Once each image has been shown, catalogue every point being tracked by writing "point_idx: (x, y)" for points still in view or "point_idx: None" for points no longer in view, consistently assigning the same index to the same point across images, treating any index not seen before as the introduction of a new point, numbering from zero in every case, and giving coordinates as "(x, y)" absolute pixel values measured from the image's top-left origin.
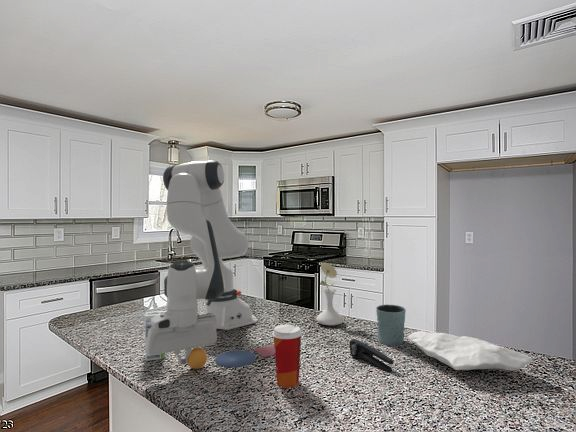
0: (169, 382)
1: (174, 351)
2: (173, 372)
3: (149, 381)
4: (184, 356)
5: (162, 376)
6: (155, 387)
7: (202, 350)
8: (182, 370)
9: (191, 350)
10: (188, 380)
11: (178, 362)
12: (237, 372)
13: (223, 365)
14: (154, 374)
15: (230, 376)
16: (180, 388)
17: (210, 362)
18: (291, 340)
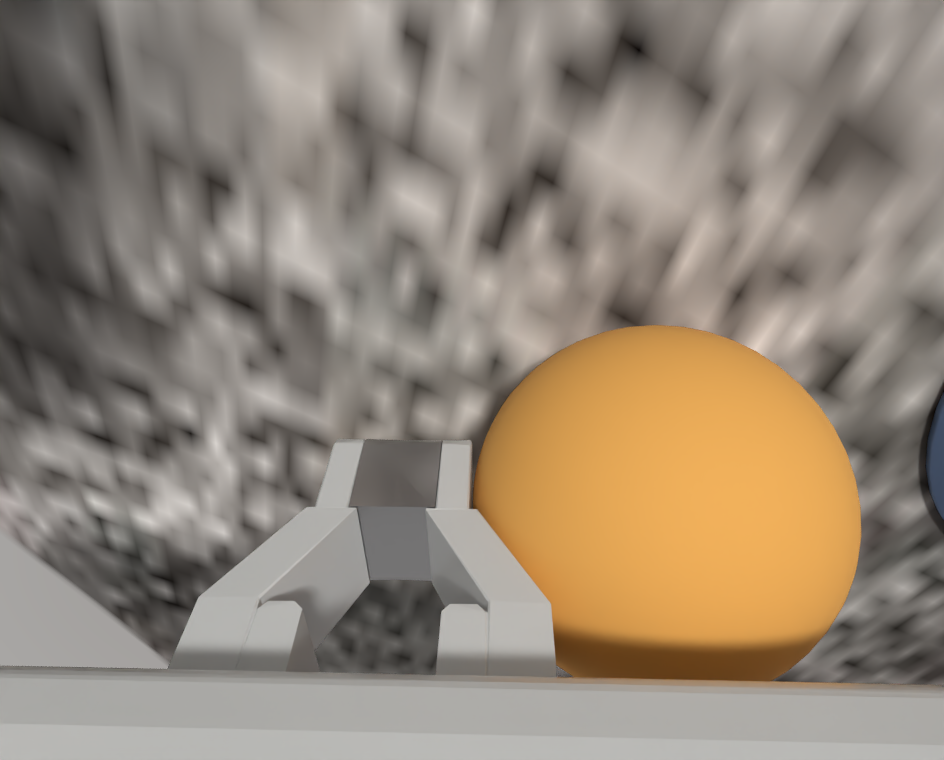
0: (243, 545)
1: (192, 625)
2: (288, 364)
3: (6, 445)
4: (430, 532)
5: (146, 402)
6: (112, 566)
7: (771, 679)
8: (417, 366)
9: (575, 633)
10: (432, 584)
11: (335, 448)
12: (917, 645)
13: (939, 505)
14: (12, 298)
15: (805, 667)
16: (340, 651)
17: (901, 313)
18: None
